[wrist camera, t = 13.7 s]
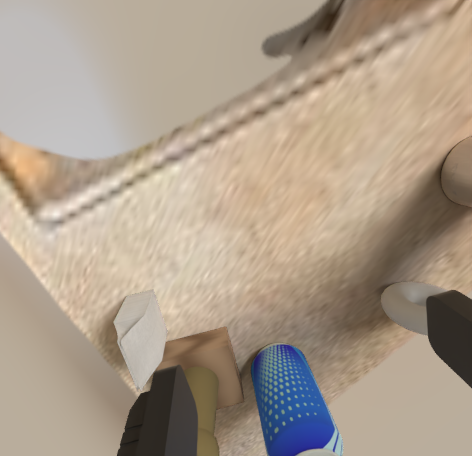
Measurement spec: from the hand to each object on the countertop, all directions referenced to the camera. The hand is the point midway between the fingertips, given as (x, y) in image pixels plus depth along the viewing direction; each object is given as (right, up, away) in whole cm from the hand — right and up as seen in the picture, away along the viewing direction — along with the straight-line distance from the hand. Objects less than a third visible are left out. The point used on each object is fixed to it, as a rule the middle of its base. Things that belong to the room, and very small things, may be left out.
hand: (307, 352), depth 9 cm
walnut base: (-7, -16, +34) cm, 39 cm away
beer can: (+4, -16, +36) cm, 40 cm away
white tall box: (-14, -8, +31) cm, 35 cm away
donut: (+22, -5, +34) cm, 41 cm away
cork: (-8, -17, +31) cm, 36 cm away
